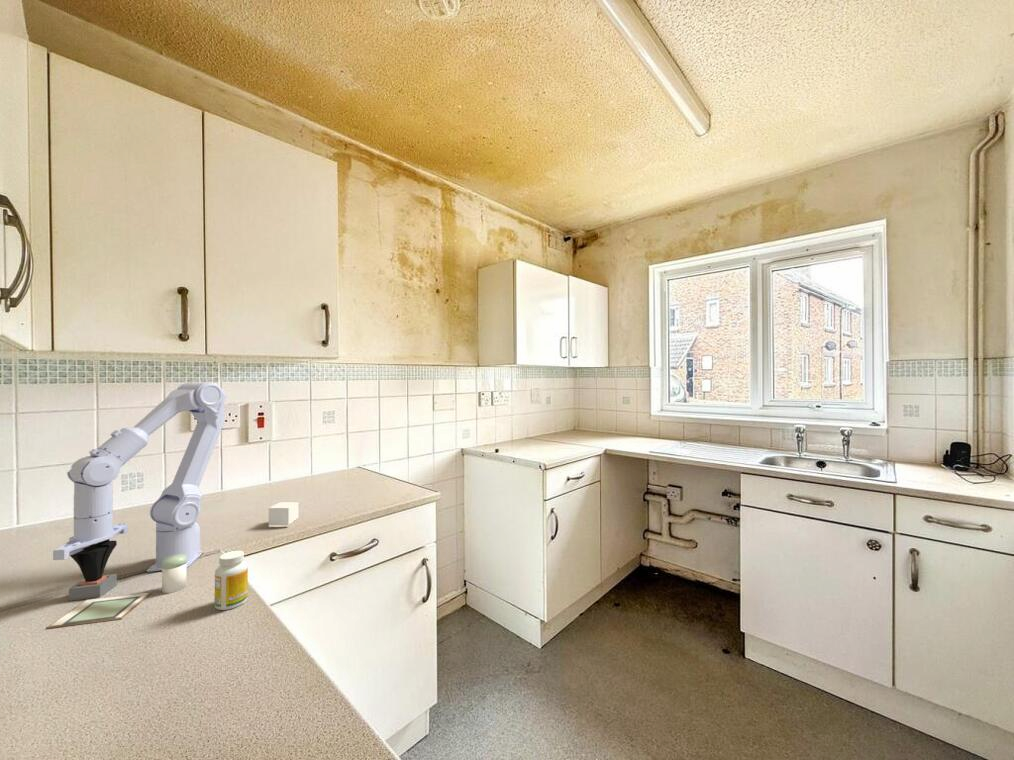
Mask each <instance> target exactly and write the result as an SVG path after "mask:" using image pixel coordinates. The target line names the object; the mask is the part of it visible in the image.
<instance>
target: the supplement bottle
mask: <svg viewBox="0 0 1014 760" xmlns="http://www.w3.org/2000/svg"><path fill="white" fill-rule="evenodd" d="M218 558H219V560H218V561H219V562H218V563H219V566H218V567H217V568H216V569H215V571H214V608H215V609H216V610H218V611H227V610H232V609H235V608H238V607H240V606H242V605H244V604H245V602H246V601H247V600H248V587H249V586H248V581H249V578H248V577H249V576H248V575H249V574H248V572H249V571H248V568H249V567H248V563H247V562H246V561H244V559H245V552H244V551H243V550H232V551H228V552H225V553H223V554H221V555H219V557H218Z"/></svg>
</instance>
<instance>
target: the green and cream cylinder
mask: <svg viewBox="0 0 1014 760" xmlns="http://www.w3.org/2000/svg"><path fill="white" fill-rule="evenodd" d="M186 587H187V567H186V554H175V555H171V556H168V557H166V558H164V559H162V570H161V593H162V594H173V593H177V592H180V591H181V590H184V589H185V588H186Z"/></svg>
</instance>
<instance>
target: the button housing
mask: <svg viewBox="0 0 1014 760" xmlns="http://www.w3.org/2000/svg"><path fill="white" fill-rule="evenodd" d="M102 576H107V578H106V579H105V580H103V581H102V582H100V583H99V584H94V585H85V586H80V584H81V583H83V582H84V581H85V579H84V578H83V579H82V580H81V581H79V582H76V584H75V585H72V586H71V587H69V588H68V602H71V601H79V600H89V599H98V598H102V597H103V596H104V595H105V594H107V593H108V592H109V591H111V590H112V589H113V588H116V586H118V574H117V573H114V574H103V575H102Z"/></svg>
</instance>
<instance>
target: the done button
mask: <svg viewBox="0 0 1014 760" xmlns="http://www.w3.org/2000/svg"><path fill="white" fill-rule="evenodd" d="M106 578H107V576H102V578H101V579H99V580H97V581H90V582H86V581H84V582H83V583H81V584H80V586H85V585H94V584H99V583H100V582H102V581H103V580H105V579H106Z"/></svg>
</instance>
